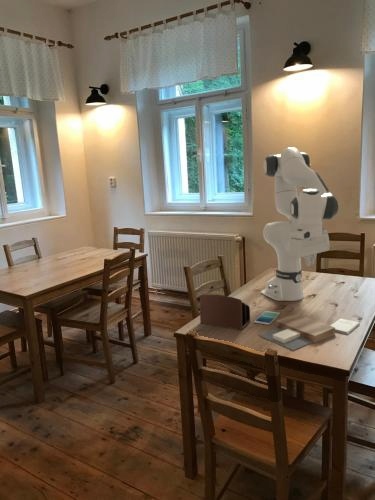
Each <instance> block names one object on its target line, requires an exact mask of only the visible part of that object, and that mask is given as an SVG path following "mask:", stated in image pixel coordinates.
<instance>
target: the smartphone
mask: <svg viewBox="0 0 375 500" xmlns="http://www.w3.org/2000/svg"><path fill="white" fill-rule="evenodd" d="M280 315H281V312H278V311H277V312H276V311H272V310H271V311H269V310H264V311H263V313H261V314H260V315H259V316H258V317H257V318H256V319H255V320H254V321H253V323H254V324H258V325H265V326H270V325H271V324H273V323H274V322H275V321H276V319H277V318H278V317H280Z"/></svg>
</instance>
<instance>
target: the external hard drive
mask: <svg viewBox="0 0 375 500" xmlns="http://www.w3.org/2000/svg"><path fill="white" fill-rule="evenodd" d="M330 326H332V327H335V333H340V334H342V335H343V334H344V335H346V336H347V335H348V334H351V332H352V331H354V330H356V328H357V327H358V326H360V321H355V320H351V319H350V320H349V319H346V318H339V319H338V320H336V321H335V322H334V323H332V324H331V325H330Z"/></svg>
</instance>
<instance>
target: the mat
mask: <svg viewBox="0 0 375 500" xmlns="http://www.w3.org/2000/svg"><path fill="white" fill-rule="evenodd" d="M281 331H283V329H280V328H276V327H275V328H272V329H271V330H270V329H269V330H267V331H265V332H262V333H260V334H258V336H259V337H261V338H263V339H264V340H267V341H270V342H272V343H274V344H277V345H278V346H281V347H283V348H286V349H288V350H290V351H292V352H294V351H297V350H299V349H301V348H303V347H306V346H308V345H310V344H313V341H310V340H308V339H305V338H303V337H298V338H296V339H293V340H291V341H288V342H286V343H283V342H280V341H278V340H276V339H273V334H276V333H278V332H281Z"/></svg>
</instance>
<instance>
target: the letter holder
mask: <svg viewBox="0 0 375 500" xmlns="http://www.w3.org/2000/svg"><path fill="white" fill-rule="evenodd" d="M199 316H200V317H199V318H200V320H199V323H200V324H201V323H202V325H209V326H213V327H214V326H215V327H222V328H227V329H228V328H229V329H234V330H239V331H243V330H244V328H246V326H247V325H249V323H250V322H251V307H250V306H249V305H248V304H247V303H245V302H243V301H242V300H241V299H240V298H236V297H232V296H228V295H223V294H222V295H221V294H201V295H200V296H199Z"/></svg>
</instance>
